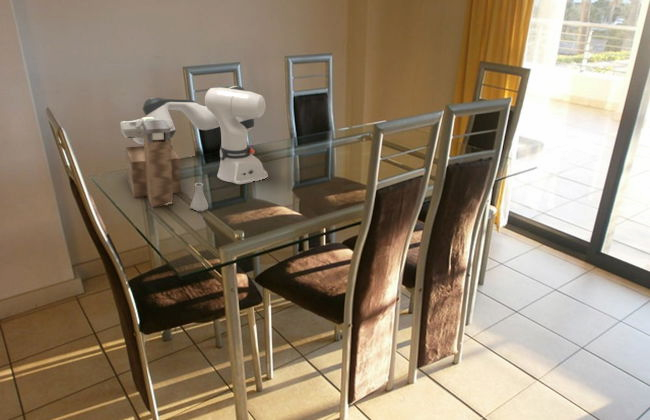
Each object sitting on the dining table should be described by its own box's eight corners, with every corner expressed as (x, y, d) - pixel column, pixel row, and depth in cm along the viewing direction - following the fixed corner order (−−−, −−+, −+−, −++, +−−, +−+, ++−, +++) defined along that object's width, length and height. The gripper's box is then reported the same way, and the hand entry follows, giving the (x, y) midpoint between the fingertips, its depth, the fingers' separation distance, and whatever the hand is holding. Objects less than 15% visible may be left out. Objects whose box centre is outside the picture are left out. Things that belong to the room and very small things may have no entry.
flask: (204, 213, 197) (203, 189, 193) (186, 210, 198) (185, 186, 194) (211, 205, 203) (211, 182, 199) (194, 202, 204) (194, 179, 200)
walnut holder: (172, 177, 223) (169, 107, 209) (185, 203, 203) (184, 127, 189) (128, 181, 215) (122, 108, 201) (137, 208, 195) (132, 130, 181)
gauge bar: (153, 124, 206) (152, 115, 205) (163, 139, 189) (163, 130, 187) (142, 124, 205) (142, 116, 203) (152, 140, 187) (152, 130, 186)
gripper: (171, 135, 219) (177, 128, 206) (120, 137, 210) (123, 131, 197) (169, 120, 219) (175, 113, 206) (118, 122, 210) (120, 115, 197)
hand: (149, 122), depth 202 cm, fingers closed on gauge bar, 4 cm apart
